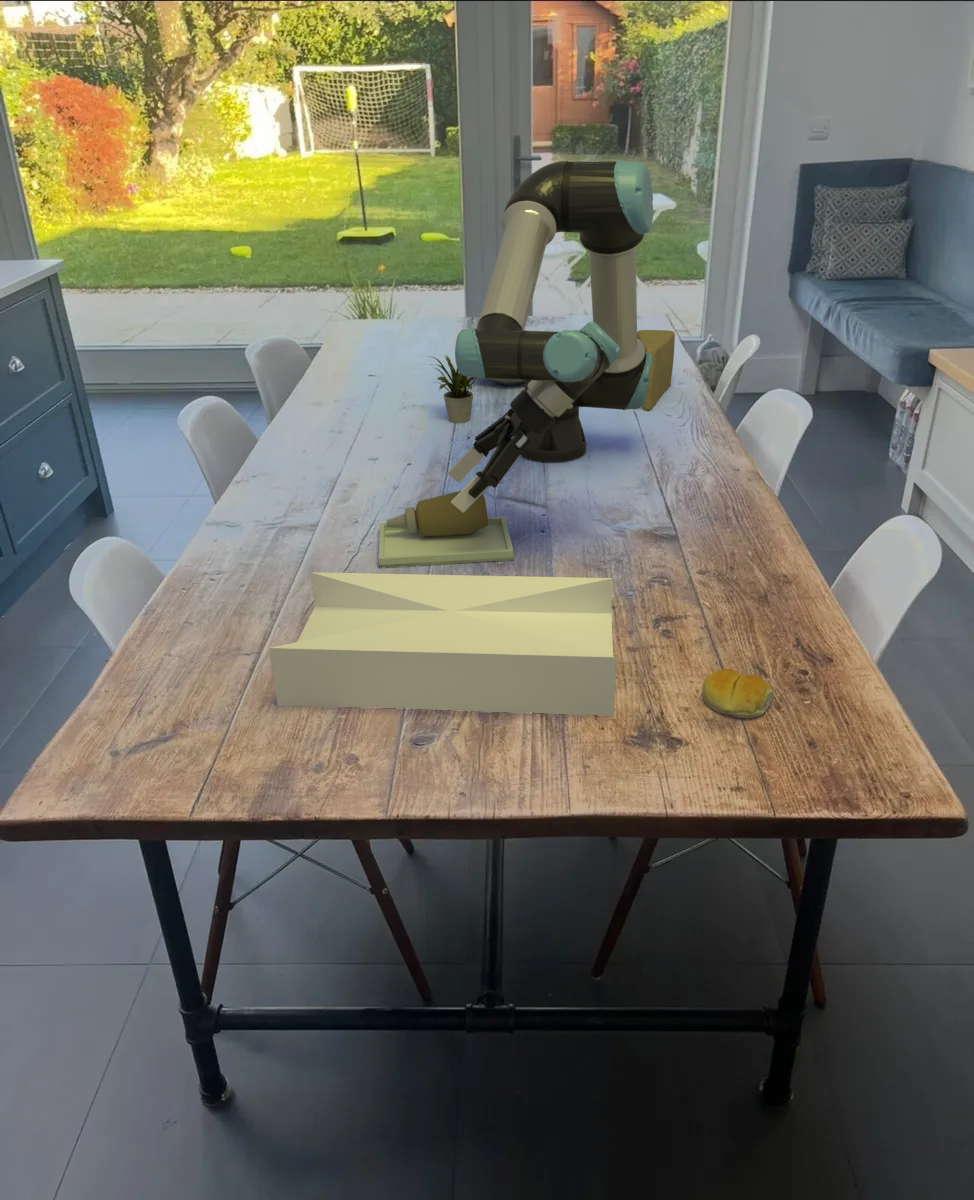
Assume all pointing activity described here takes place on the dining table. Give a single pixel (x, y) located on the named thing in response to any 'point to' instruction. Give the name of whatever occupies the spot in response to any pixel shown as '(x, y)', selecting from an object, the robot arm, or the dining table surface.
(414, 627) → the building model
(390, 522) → the squeeze bottle
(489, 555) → the tray
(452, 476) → the robot arm
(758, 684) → the bread roll
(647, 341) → the cheese
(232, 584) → the dining table surface
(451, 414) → the house plant
